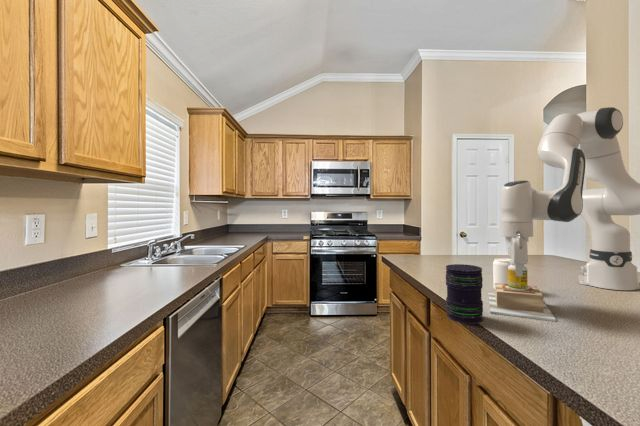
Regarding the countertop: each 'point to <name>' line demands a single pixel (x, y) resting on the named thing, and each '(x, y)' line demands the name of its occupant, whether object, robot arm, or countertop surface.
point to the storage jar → (464, 293)
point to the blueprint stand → (519, 303)
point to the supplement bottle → (517, 278)
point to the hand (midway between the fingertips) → (517, 273)
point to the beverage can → (500, 271)
